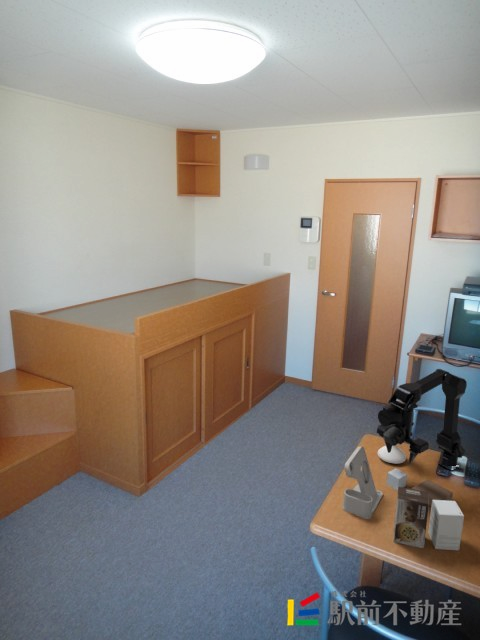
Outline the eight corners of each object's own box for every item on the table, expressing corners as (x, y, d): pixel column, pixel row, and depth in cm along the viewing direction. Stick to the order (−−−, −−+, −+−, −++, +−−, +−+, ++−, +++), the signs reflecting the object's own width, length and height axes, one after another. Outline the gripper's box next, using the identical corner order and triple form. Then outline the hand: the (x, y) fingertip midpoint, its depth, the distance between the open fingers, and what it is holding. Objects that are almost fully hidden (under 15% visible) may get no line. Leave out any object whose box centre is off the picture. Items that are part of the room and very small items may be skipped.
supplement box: (450, 534, 145) (456, 500, 142) (459, 551, 138) (465, 516, 135) (427, 532, 146) (431, 498, 143) (434, 549, 139) (439, 514, 136)
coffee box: (423, 535, 145) (428, 491, 140) (424, 549, 139) (430, 504, 135) (393, 528, 147) (398, 485, 143) (392, 542, 141) (398, 497, 137)
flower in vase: (378, 449, 195) (383, 396, 189) (406, 454, 191) (412, 400, 185) (375, 464, 183) (380, 408, 177) (405, 471, 179) (411, 413, 173)
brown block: (426, 485, 170) (427, 478, 169) (451, 499, 162) (452, 492, 161) (410, 495, 164) (411, 488, 164) (435, 510, 156) (436, 502, 156)
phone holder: (368, 521, 151) (373, 473, 146) (340, 509, 156) (343, 464, 152) (383, 494, 165) (388, 450, 161) (356, 484, 170) (360, 442, 166)
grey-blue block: (394, 479, 174) (395, 468, 173) (405, 486, 170) (407, 474, 169) (386, 483, 171) (387, 472, 170) (397, 490, 167) (398, 478, 166)
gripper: (368, 415, 167) (365, 453, 170) (412, 436, 152) (408, 477, 156) (387, 408, 173) (384, 444, 177) (432, 427, 158) (426, 467, 162)
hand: (399, 457), depth 168 cm, fingers open, 9 cm apart
